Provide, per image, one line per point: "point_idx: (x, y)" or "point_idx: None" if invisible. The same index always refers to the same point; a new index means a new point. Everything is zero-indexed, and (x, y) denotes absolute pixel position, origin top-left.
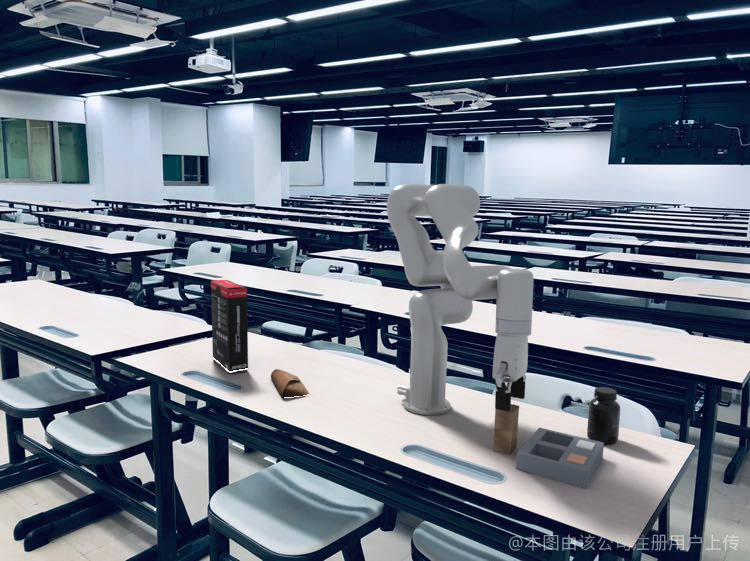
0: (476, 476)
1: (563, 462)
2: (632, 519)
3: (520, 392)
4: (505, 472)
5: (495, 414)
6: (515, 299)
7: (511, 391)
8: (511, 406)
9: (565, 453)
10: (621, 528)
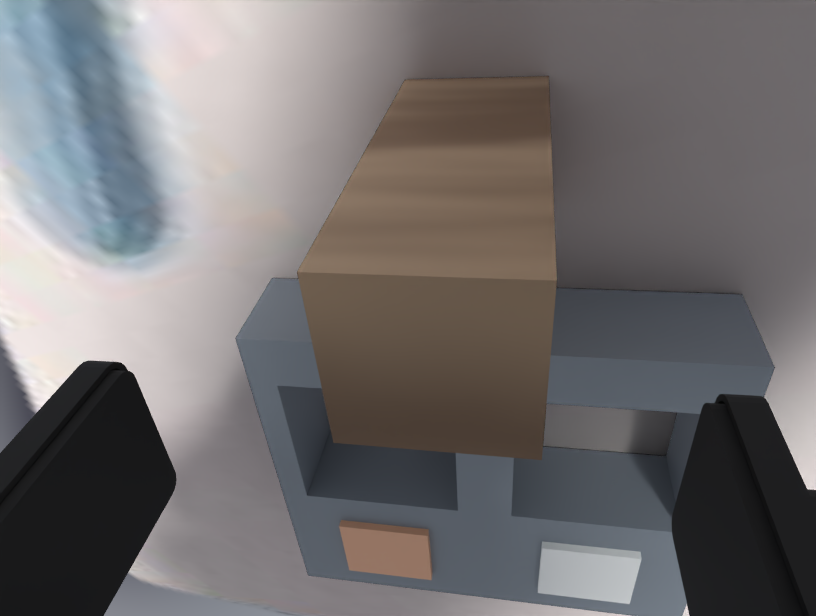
0: (21, 134)
1: (314, 511)
2: (248, 588)
3: (693, 576)
4: (193, 245)
5: (326, 225)
6: None
7: (722, 473)
8: (460, 406)
9: (421, 512)
10: (180, 569)
